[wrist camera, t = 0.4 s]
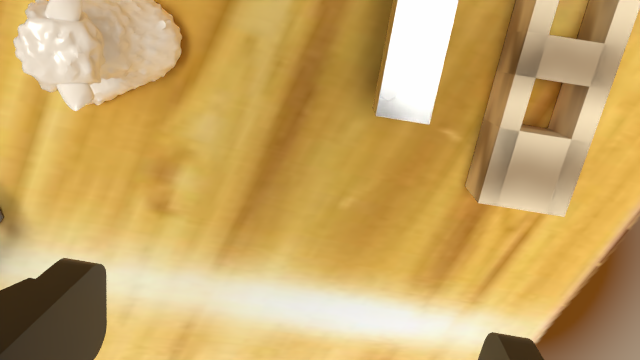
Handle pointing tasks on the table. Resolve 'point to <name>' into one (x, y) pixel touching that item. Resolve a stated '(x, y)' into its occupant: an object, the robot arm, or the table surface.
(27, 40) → the seated beast figurine
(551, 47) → the rail
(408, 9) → the grey notched block
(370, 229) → the table surface
